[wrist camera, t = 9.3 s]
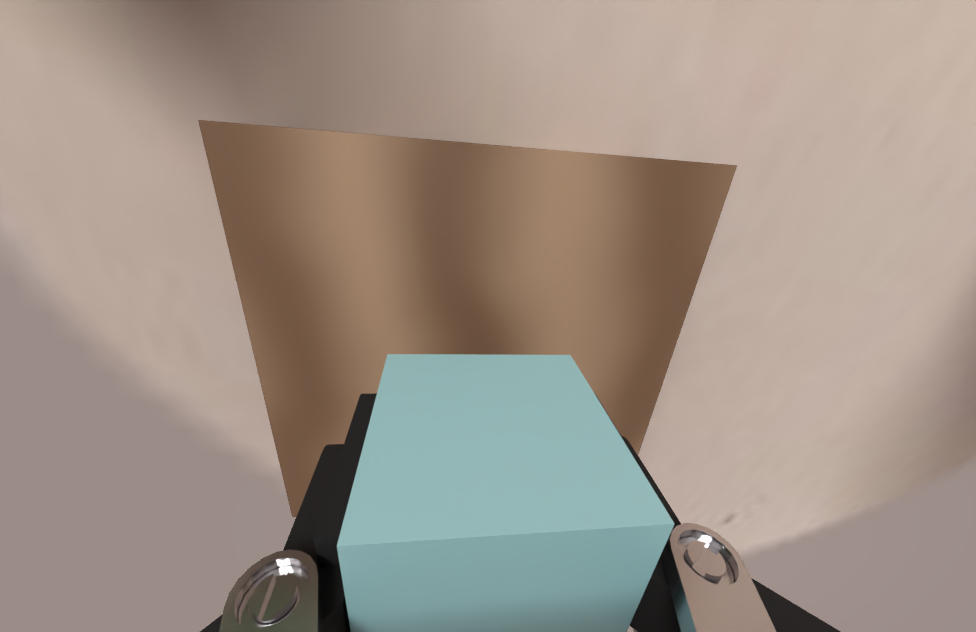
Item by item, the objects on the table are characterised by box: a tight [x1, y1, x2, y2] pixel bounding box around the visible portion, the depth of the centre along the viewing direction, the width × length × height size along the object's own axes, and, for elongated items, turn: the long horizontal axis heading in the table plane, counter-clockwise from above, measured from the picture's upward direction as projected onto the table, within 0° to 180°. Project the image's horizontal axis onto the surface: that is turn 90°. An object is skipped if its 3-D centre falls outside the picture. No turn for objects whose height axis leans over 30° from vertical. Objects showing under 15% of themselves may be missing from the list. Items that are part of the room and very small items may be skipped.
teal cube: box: [337, 354, 674, 632], centre depth 8 cm, size 5×5×5 cm
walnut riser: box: [198, 120, 737, 517], centre depth 15 cm, size 15×15×4 cm
